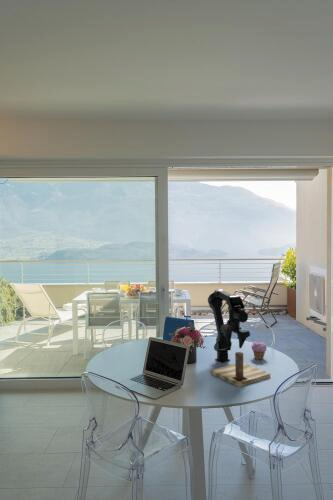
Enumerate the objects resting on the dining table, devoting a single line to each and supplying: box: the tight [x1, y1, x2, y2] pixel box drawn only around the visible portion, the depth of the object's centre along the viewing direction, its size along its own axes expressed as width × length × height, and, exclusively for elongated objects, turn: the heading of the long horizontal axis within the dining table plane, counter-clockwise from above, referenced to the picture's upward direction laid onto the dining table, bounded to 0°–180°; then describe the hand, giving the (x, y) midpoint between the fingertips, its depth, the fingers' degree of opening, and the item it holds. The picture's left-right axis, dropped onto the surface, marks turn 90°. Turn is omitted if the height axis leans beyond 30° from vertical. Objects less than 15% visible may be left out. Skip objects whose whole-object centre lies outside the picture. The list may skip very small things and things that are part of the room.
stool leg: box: [234, 351, 244, 382], centre depth 206 cm, size 4×4×15 cm
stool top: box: [210, 362, 271, 388], centre depth 216 cm, size 22×22×2 cm
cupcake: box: [251, 341, 267, 360], centre depth 242 cm, size 9×9×10 cm
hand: (234, 346), depth 224 cm, fingers open, 9 cm apart
